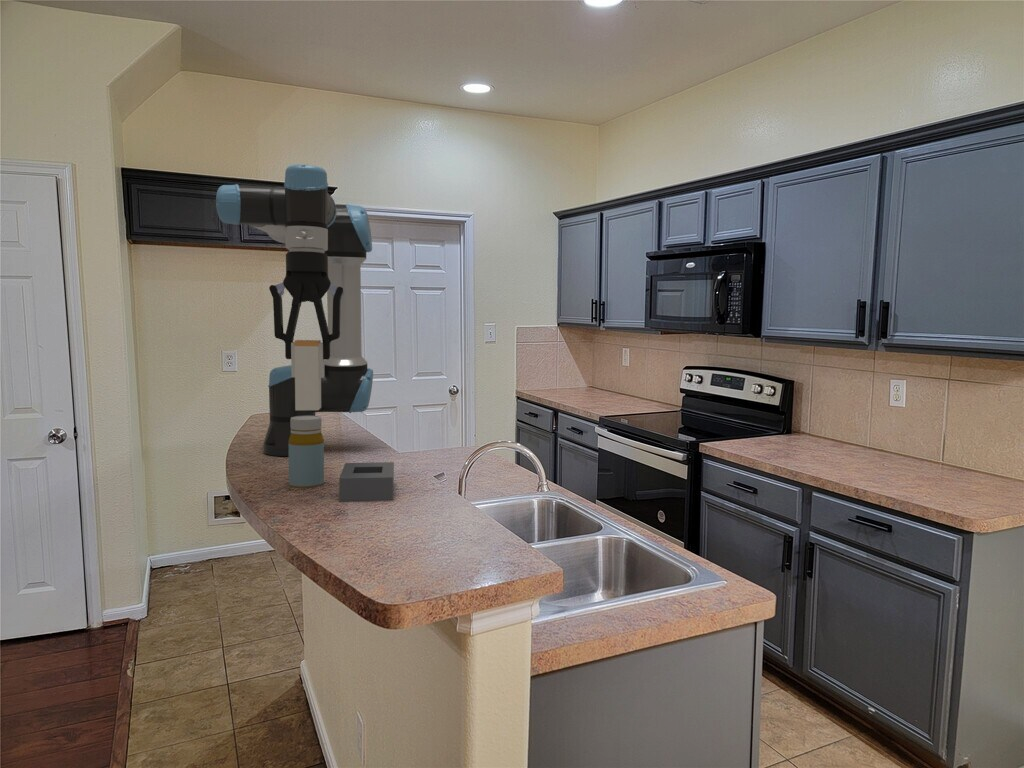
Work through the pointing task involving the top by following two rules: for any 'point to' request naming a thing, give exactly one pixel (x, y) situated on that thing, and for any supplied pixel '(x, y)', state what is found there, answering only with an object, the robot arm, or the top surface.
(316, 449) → the bottle
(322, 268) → the robot arm
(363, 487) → the gray socket block
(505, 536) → the top surface
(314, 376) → the plug
